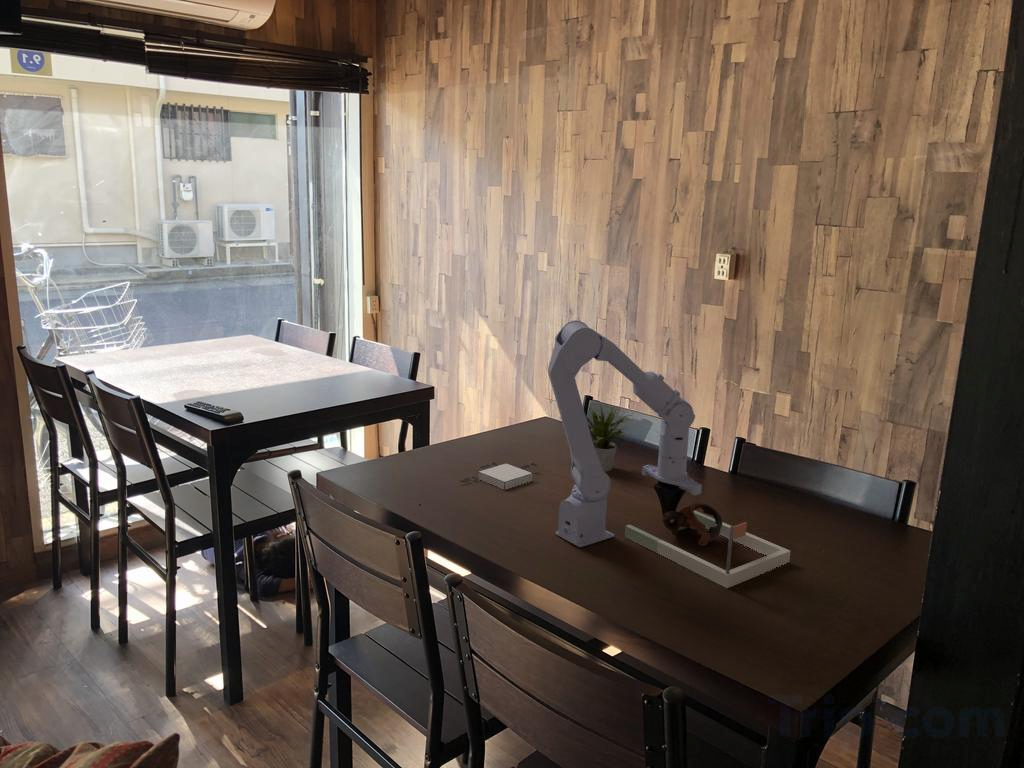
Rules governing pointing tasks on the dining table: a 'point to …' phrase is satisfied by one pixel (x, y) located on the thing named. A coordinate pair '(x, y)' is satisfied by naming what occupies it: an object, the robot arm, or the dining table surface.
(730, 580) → the open rectangular rail frame
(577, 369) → the robot arm
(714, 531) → the brown piece
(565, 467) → the dining table surface
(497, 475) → the container
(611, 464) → the house plant
